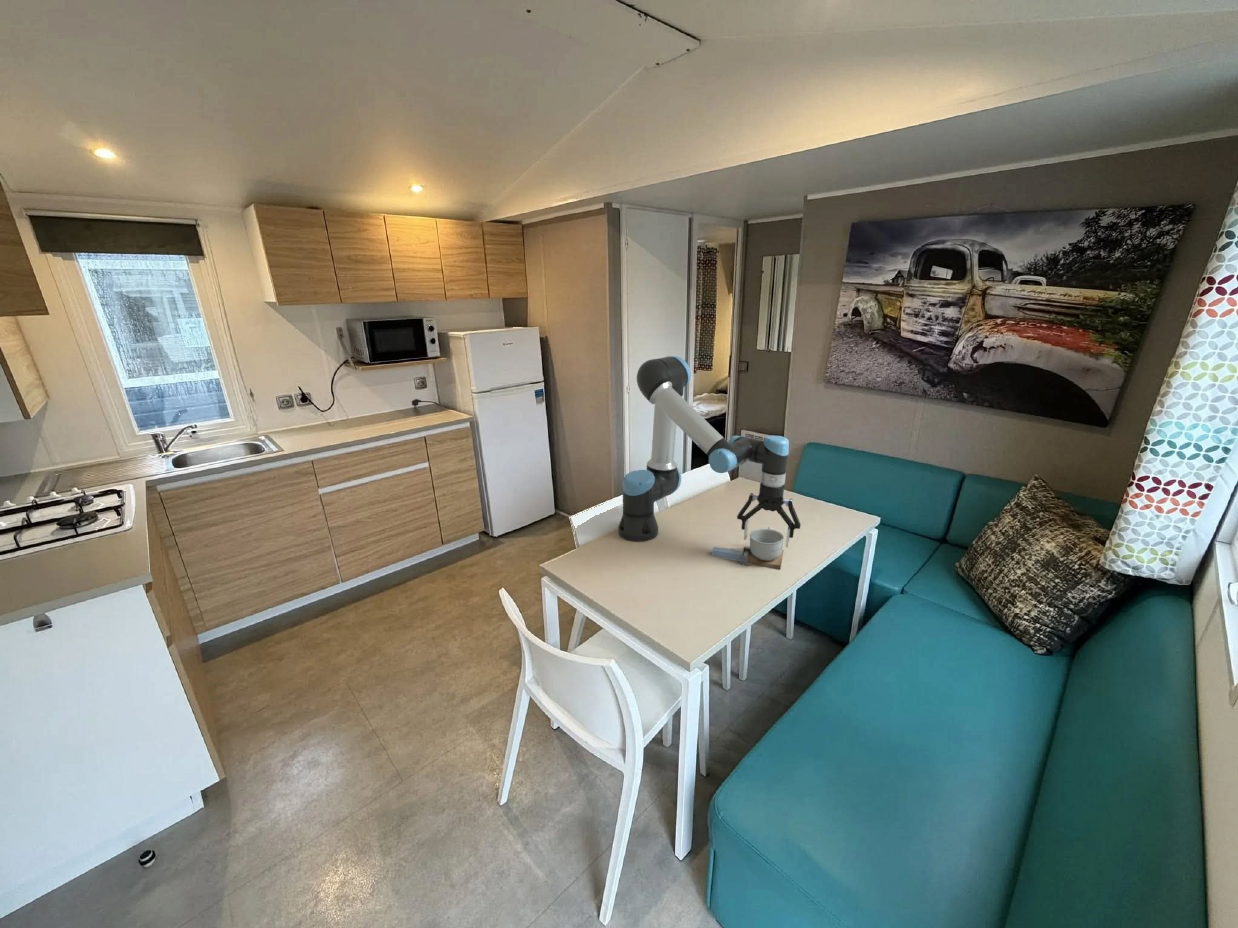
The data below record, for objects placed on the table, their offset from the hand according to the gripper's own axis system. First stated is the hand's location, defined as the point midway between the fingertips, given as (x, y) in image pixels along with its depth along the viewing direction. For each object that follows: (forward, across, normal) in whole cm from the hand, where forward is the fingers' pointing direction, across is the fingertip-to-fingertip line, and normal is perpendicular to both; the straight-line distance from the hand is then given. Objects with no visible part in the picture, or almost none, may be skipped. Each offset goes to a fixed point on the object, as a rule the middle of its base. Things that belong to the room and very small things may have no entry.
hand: (765, 541), depth 163 cm
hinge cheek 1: (+6, -6, -1) cm, 8 cm away
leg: (+6, -11, -4) cm, 13 cm away
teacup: (+5, +1, 0) cm, 5 cm away
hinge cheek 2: (+6, -6, -7) cm, 11 cm away
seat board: (+6, 0, -1) cm, 6 cm away
